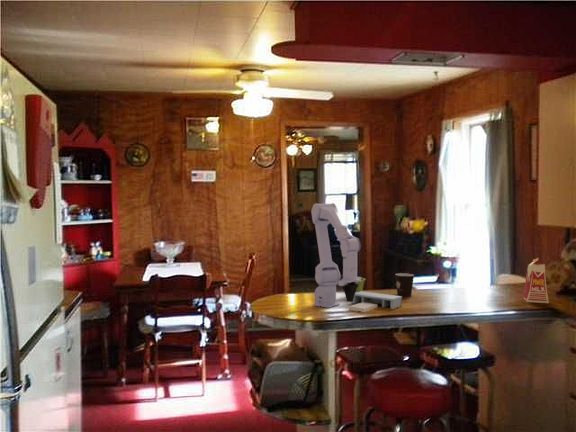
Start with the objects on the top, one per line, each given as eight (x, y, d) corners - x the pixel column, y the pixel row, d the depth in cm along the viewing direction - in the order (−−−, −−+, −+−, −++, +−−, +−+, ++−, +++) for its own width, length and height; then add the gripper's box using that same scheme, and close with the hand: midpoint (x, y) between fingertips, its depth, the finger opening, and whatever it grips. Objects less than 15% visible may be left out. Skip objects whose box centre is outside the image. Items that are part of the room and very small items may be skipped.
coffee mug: (415, 297, 267) (415, 276, 266) (396, 297, 267) (397, 276, 266) (410, 293, 278) (410, 272, 278) (392, 292, 279) (392, 272, 278)
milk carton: (548, 303, 256) (550, 258, 255) (526, 302, 258) (528, 258, 257) (543, 299, 265) (545, 256, 264) (522, 298, 266) (523, 255, 266)
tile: (363, 313, 233) (363, 308, 233) (348, 311, 238) (348, 306, 237) (377, 308, 243) (377, 304, 243) (362, 306, 247) (362, 302, 247)
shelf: (393, 309, 240) (393, 299, 240) (352, 303, 252) (352, 293, 252) (401, 306, 247) (401, 296, 246) (361, 300, 259) (361, 291, 259)
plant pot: (358, 300, 259) (358, 281, 259) (340, 297, 265) (341, 279, 265) (368, 297, 267) (369, 278, 266) (351, 294, 272) (351, 276, 272)
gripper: (349, 270, 223) (348, 305, 223) (367, 267, 234) (367, 299, 235) (334, 269, 227) (333, 303, 227) (352, 265, 238) (352, 297, 239)
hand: (349, 301), depth 231 cm, fingers closed
